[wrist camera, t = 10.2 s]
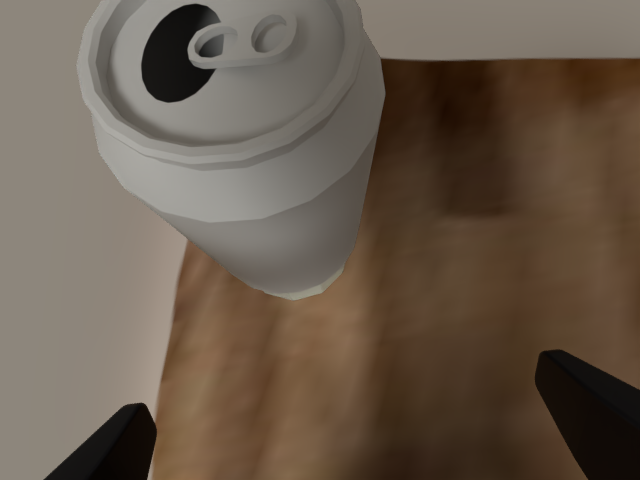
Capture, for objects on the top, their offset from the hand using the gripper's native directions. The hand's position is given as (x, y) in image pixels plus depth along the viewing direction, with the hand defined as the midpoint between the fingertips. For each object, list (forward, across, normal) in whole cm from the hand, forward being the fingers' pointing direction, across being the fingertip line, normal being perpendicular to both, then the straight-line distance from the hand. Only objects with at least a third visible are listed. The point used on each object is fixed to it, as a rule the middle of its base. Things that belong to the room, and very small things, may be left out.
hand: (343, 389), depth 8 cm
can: (+12, +2, +1) cm, 12 cm away
